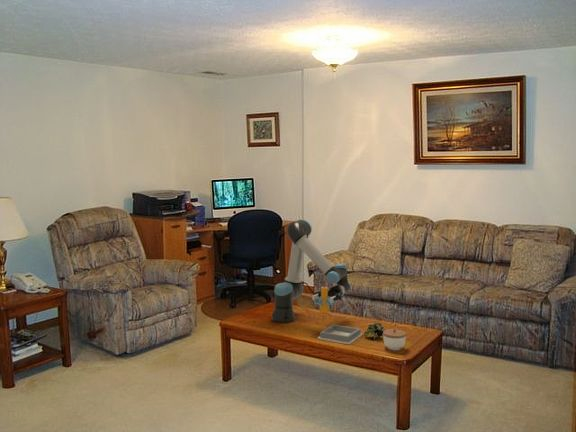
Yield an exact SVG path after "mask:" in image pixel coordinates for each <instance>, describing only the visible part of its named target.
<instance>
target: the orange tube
mask: <svg viewBox="0 0 576 432" xmlns="http://www.w3.org/2000/svg"><path fill="white" fill-rule="evenodd" d="M320 291H321V296H320V297H318V298H316V299H315V300H314V301H313V302H314V304H316V305H318V306H319V312H320V313H321V314H322V313H323V314H326V313H327V314H328V313H330V306H331V305H334V304H335V302H336V301H334V302H332V303H330V298H331V297H329V296H328V291H329V288H328V286H321V287H320ZM317 300H318V302H316V301H317Z"/></svg>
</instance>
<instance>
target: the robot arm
mask: <svg viewBox="0 0 576 432" xmlns="http://www.w3.org/2000/svg"><path fill="white" fill-rule="evenodd" d="M312 229H313V228H312V225H311V223H310V222H309V221H308V220H306V219H297V220H295V221H291V222H290V223H289V224H287V227H286V234H287V237H288V239H289V240H290V241H291V249H290V250H291V251H290V255H289V261H288V271H287V276H286V277H284V282H279V283H277V284H275V286H274V309H273V311H272V314H271V321H272V322H275V323H281V324H286V323H287V324H288V323H292V322H295V321H296V316H295V311H294V309H293V301H294V300H296V299H298V298H299V297H300V296H301V295H302V293H303V291H304V286H303V279H301V273H302V268H303V267H302V266H303V261H304V255H306V256H307V257H308V258H309V259H310V260H311V262H312V263H314V265H315V266H316V267H317V268H318V270H320V271H321V272H322V273H323V274H324V275H325V277H326V280H327V282H328V283H329V284H332V285H334V284H336V285H334V286H331V287H330V288H329V289H328V296H329V297H330V303H333V302H334V301H335V302H336V301H342V298H344V295H345V294H348V293H349V291H351V289H352V284H351V283H350V281H349V280H348V272H347V270H348V269H347V265H346V263H336V264H334V265H333V264H332V263H331V262H330V261H329V260H328V258H326V257H325V256H324V254H323V253H322V252H321V251H320V250H319V249H318V248H317V247H316V246H315V245H314V244H313V242H311V241H310V239H309V236H310V235H311V233H312V231H313V230H312ZM320 296H321V290H319V291H315V292H313V295H312V299H311V300H312V301H313V302H314V300H315V299H316V298H319V297H320ZM316 300H317V299H316ZM335 302H334V303H335Z"/></svg>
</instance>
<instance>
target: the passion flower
mask: <svg viewBox="0 0 576 432" xmlns="http://www.w3.org/2000/svg"><path fill="white" fill-rule="evenodd" d="M384 330H386V329H385V328H384V326H383V324H382V323H380V322H374V323H371V324H370V323H368V326H367V329H366V330H365V332H364V333H363V337H368V336H369V335H370V336H369V337H370V338H371V339H372V338H373V339H372V340H373V341H374V340H375V339H376V337H379V338H380V337H383V331H384Z"/></svg>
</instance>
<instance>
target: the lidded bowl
mask: <svg viewBox="0 0 576 432" xmlns="http://www.w3.org/2000/svg"><path fill="white" fill-rule="evenodd" d="M406 337H407V333H406V332H405V331H404V330H402V329H397V328H390V329H385V330H384V331H383V336H382V339H383V344H384V345H385V347H386V348H387V349H388V350H391V351H400V350H401V349H402V348H403V347H404V346H405V343H406V339H407V338H406Z"/></svg>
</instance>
